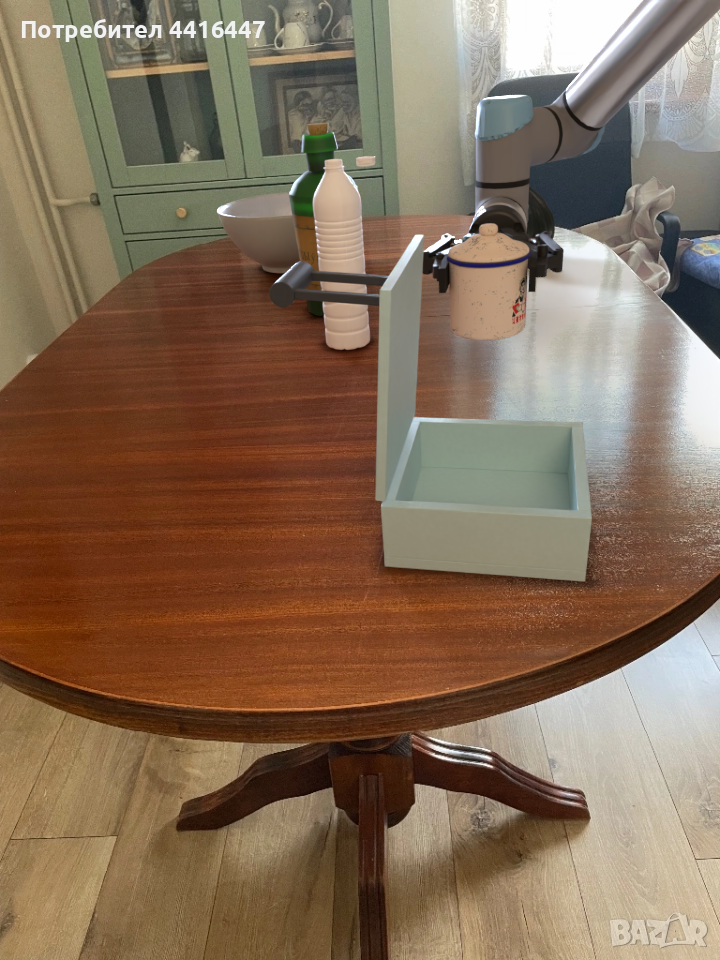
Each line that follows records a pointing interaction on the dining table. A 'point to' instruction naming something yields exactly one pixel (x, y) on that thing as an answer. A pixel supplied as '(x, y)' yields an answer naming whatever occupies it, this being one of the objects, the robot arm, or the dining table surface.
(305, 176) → the bottle
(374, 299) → the lid
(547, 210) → the squash
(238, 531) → the dining table surface
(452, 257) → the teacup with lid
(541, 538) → the pale green box base
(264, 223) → the decorative bowl
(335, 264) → the water bottle
